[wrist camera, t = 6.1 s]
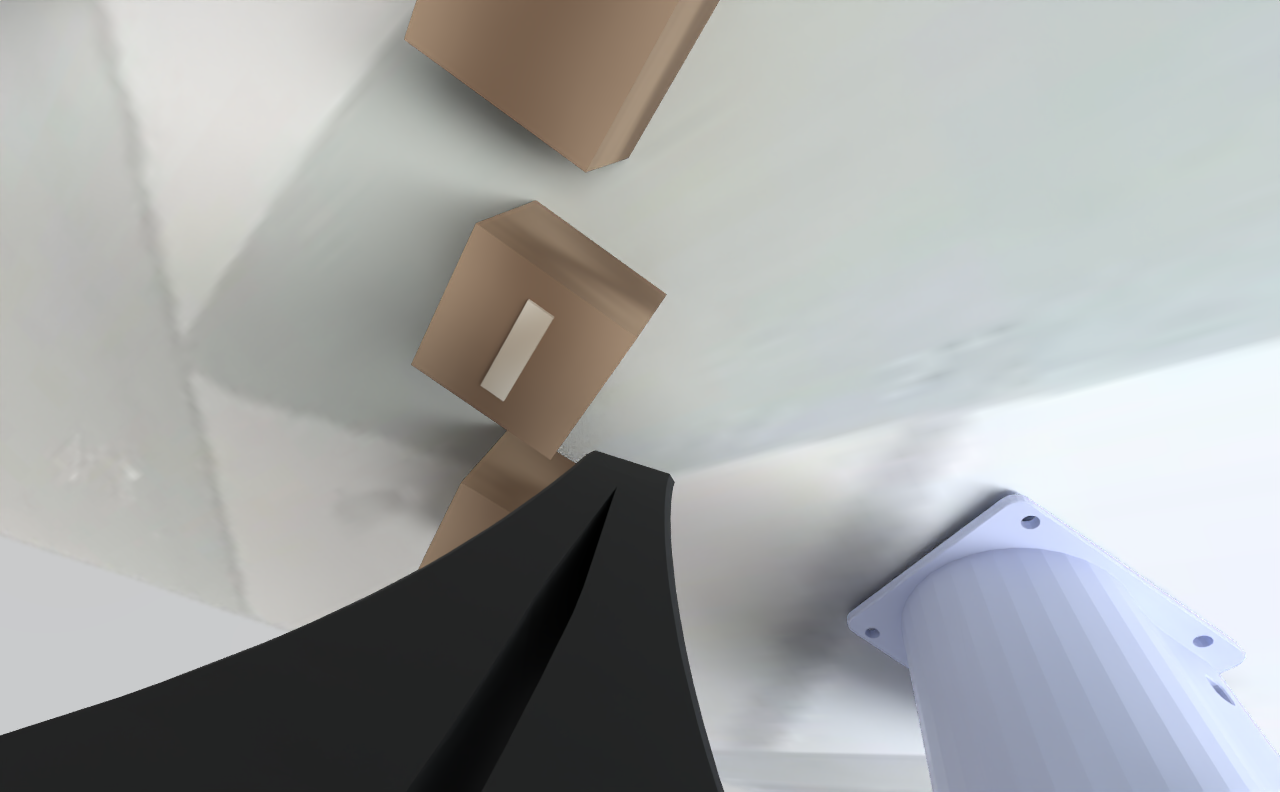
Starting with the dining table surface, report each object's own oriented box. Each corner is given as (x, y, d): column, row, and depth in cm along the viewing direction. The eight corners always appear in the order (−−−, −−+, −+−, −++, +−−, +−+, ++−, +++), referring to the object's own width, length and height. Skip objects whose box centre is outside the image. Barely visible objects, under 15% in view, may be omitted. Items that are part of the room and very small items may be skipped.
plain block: (733, -22, 14) (712, -62, 11) (629, 157, 17) (585, 172, 13) (567, -151, 14) (492, -233, 11) (486, 52, 16) (403, 39, 13)
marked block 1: (667, 293, 18) (636, 339, 15) (589, 403, 21) (547, 464, 17) (537, 199, 18) (473, 223, 14) (474, 323, 21) (407, 369, 17)
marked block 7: (624, 491, 22) (590, 564, 19) (569, 567, 25) (531, 644, 21) (513, 422, 22) (459, 484, 19) (470, 506, 25) (415, 574, 21)
